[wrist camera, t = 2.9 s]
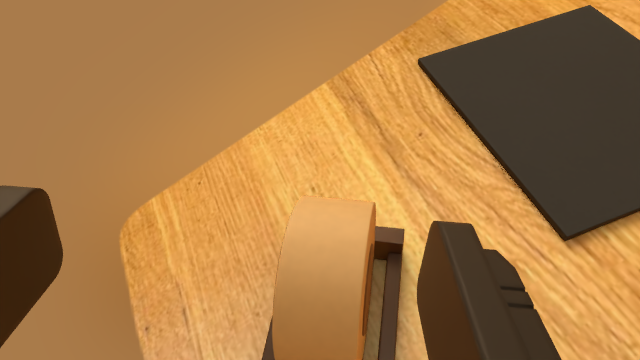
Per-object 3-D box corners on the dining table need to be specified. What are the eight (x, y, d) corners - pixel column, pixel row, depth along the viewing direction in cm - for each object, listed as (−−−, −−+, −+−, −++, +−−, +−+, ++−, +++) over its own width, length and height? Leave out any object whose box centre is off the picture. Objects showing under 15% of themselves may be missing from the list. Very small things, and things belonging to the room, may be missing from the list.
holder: (256, 400, 28) (248, 389, 26) (295, 235, 35) (290, 217, 33) (389, 422, 26) (391, 414, 24) (402, 246, 33) (404, 228, 31)
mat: (417, 63, 46) (417, 58, 45) (587, 9, 49) (590, 4, 48) (564, 241, 32) (567, 237, 32) (785, 152, 35) (791, 147, 35)
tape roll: (288, 390, 28) (256, 334, 20) (316, 247, 34) (300, 160, 26) (360, 402, 27) (356, 349, 19) (376, 253, 33) (378, 166, 25)
